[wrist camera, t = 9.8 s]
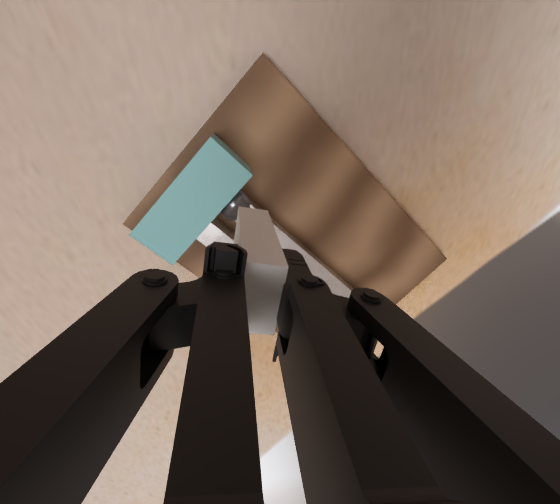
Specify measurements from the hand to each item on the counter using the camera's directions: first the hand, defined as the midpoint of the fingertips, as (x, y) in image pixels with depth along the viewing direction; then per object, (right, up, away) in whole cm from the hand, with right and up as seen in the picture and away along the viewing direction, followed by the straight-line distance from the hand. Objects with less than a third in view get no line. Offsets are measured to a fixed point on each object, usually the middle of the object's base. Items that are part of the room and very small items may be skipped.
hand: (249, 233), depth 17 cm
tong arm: (+3, -1, +16) cm, 17 cm away
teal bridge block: (-6, +5, +13) cm, 15 cm away
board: (+4, 0, +17) cm, 18 cm away
